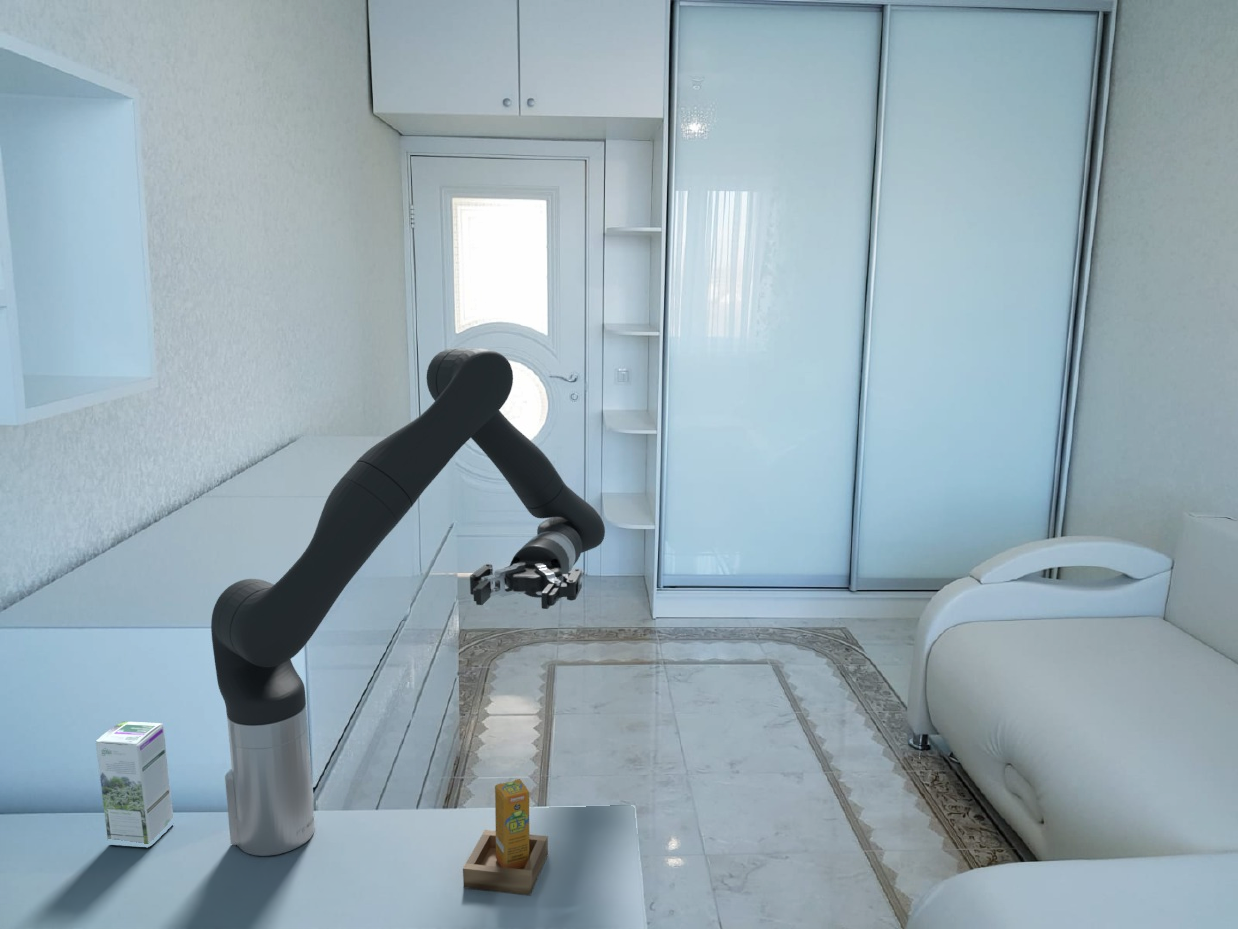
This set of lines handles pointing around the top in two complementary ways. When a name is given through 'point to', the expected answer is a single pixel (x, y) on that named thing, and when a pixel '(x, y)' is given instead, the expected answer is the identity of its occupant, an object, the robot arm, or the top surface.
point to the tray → (492, 877)
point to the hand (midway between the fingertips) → (511, 599)
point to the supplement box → (512, 824)
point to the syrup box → (134, 781)
